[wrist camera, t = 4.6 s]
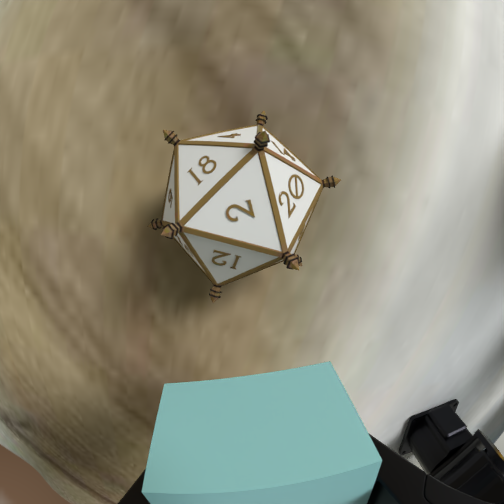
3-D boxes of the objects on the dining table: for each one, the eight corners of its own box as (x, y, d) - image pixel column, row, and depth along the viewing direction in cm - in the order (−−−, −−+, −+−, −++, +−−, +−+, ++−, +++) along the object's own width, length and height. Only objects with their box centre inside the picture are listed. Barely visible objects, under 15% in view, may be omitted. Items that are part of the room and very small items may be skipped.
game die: (231, 166, 22) (267, 48, 13) (316, 252, 21) (406, 163, 12) (125, 236, 18) (92, 116, 9) (216, 344, 17) (259, 308, 8)
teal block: (325, 455, 10) (353, 535, 6) (200, 473, 10) (198, 556, 6) (330, 361, 9) (382, 460, 5) (164, 383, 8) (141, 491, 5)
